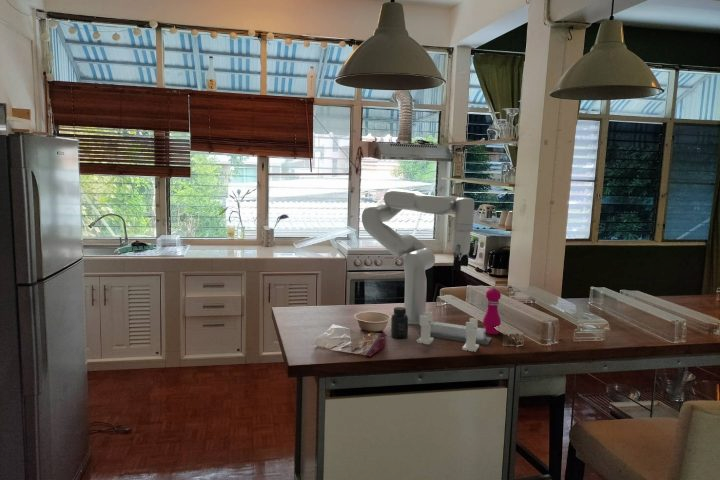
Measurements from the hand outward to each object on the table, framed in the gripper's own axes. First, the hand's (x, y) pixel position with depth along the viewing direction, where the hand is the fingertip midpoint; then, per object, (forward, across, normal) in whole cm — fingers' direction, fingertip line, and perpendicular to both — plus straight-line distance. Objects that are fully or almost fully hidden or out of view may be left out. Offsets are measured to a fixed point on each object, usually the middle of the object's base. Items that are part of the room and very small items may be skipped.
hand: (460, 267), depth 229 cm
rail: (+26, +11, +3) cm, 28 cm away
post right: (+26, +22, +13) cm, 36 cm away
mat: (+26, +11, +3) cm, 29 cm away
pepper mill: (+26, -3, +14) cm, 30 cm away
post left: (+27, +23, -5) cm, 36 cm away
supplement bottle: (+27, +24, -16) cm, 39 cm away
